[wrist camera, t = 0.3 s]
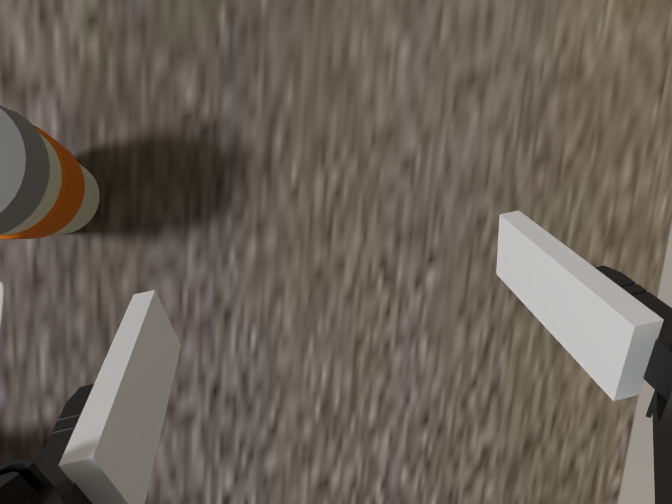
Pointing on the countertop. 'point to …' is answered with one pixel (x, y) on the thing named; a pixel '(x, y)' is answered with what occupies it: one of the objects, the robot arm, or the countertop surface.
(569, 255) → the robot arm
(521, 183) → the countertop surface
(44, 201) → the reusable coffee cup
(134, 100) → the countertop surface
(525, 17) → the countertop surface
